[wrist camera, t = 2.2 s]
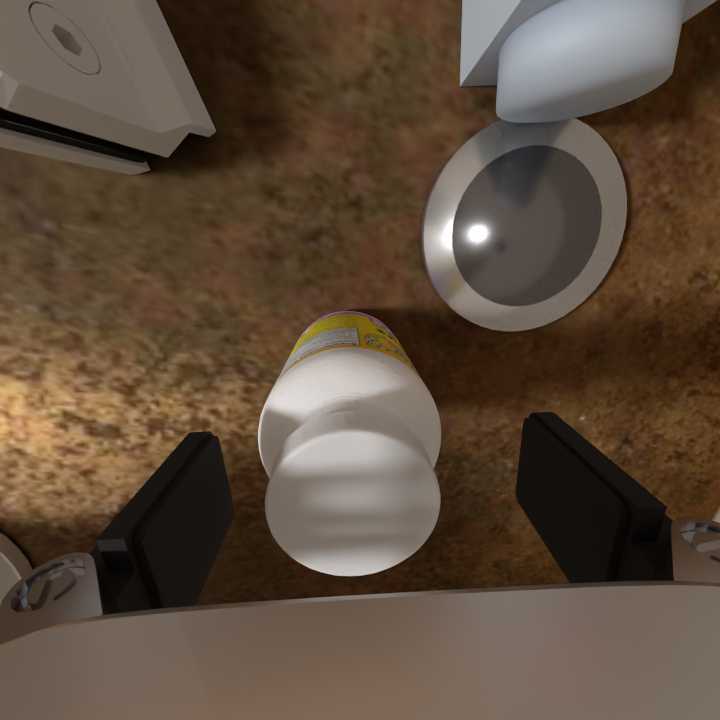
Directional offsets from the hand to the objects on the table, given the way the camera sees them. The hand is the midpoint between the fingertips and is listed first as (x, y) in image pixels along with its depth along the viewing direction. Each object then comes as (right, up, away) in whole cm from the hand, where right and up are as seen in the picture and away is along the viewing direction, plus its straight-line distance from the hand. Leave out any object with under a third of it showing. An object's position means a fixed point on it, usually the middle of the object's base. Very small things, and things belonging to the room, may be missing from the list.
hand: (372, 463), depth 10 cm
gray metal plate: (+8, +10, +9) cm, 16 cm away
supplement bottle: (-1, +3, +11) cm, 11 cm away
